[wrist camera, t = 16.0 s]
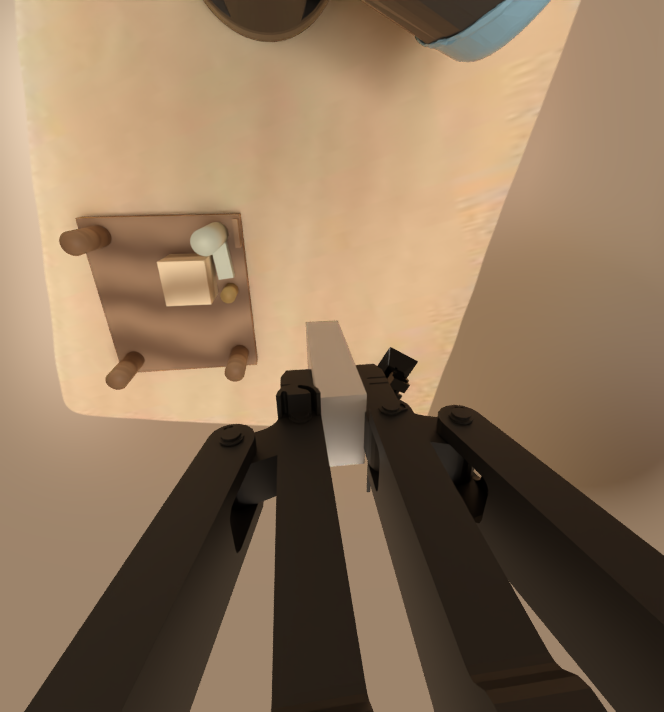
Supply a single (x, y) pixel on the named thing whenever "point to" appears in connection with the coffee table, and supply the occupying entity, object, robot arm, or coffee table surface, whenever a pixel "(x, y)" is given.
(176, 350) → the stool board
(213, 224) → the gate leg
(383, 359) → the black bracket plate
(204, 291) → the maple block
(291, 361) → the coffee table surface
